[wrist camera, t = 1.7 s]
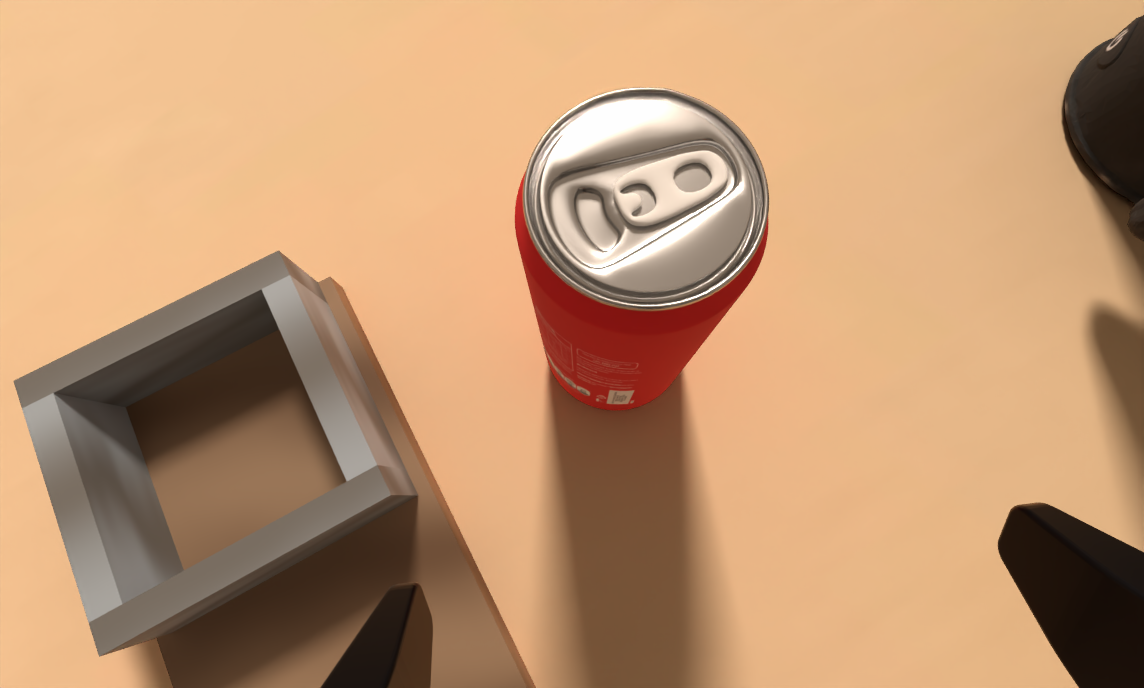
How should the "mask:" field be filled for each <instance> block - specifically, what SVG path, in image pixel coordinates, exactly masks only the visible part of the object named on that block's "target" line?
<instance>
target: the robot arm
mask: <svg viewBox="0 0 1144 688" xmlns="http://www.w3.org/2000/svg"><path fill="white" fill-rule="evenodd" d="M998 550H999V554H1000V557H1001V559H1002V561H1003V562H1004V564H1005V566H1006V568H1007V569H1008V571H1009V573H1010V575H1011V576H1012V578H1013V580H1014V582H1015V583H1016V585H1017V587H1018V589H1019V590H1020V592H1021V594H1022V596H1023V597H1024V599H1025V601H1026V603H1027V604H1028V606H1029V608H1030V610H1031V611H1032V613H1033V615H1034V617H1035V618H1036V620H1037V622H1038V624H1039V625H1040V627H1041V629H1042V631H1043V632H1044V634H1045V636H1046V638H1047V639H1048V641H1049V643H1050V644H1051V646H1052V648H1053V649H1054V651H1055V653H1056V654H1057V656H1058V657H1059V659H1060V660H1061V662H1062V663H1063V665H1064V666H1065V668H1066V669H1067V671H1068V672H1069V674H1070V675H1071V677H1072V678H1073V680H1074V681H1075V683H1076V684H1077V685H1078V687H1079V688H1144V552H1142V551H1140V550H1138V549H1136V548H1134V547H1132V546H1130V545H1128V544H1126V543H1124V542H1122V541H1120V540H1118V539H1116V538H1114V537H1112V536H1110V535H1108V534H1106V533H1104V532H1102V531H1100V530H1098V529H1096V528H1094V527H1092V526H1090V525H1088V524H1086V523H1084V522H1082V521H1080V520H1078V519H1077V518H1075V517H1073V516H1071V515H1069V514H1067V513H1065V512H1063V511H1061V510H1059V509H1057V508H1055V507H1053V506H1050V505H1048V504H1045V503H1030V504H1022V505H1017V506H1014V507H1013V508H1012V509H1011V510H1010V512H1009V514H1008V517H1007V519H1006V522H1005V525H1004V527H1003V530H1002V532H1001V535H1000V537H999V540H998ZM432 644H433V620H432V615H431V612H430V609H429V606H428V603H427V601H426V598H425V595H424V592H423V589H422V587H421V585H420V584H419V583H417V582H410V583H402V584H396V585H393V586H391V587H390V588H389V589H388V590H387V592H386V593H385V595H384V596H383V597H382V599H381V600H380V602H379V603H378V605H377V606H376V608H375V609H374V610H373V612H372V613H371V615H370V616H369V618H368V619H367V621H366V622H365V624H364V625H363V626H362V628H361V629H360V631H359V632H358V634H357V635H356V637H355V638H354V639H353V641H352V642H351V644H350V645H349V647H348V648H347V650H346V651H345V652H344V654H343V655H342V657H341V658H340V660H339V661H338V663H337V664H336V666H335V667H334V668H333V670H332V671H331V673H330V674H329V676H328V677H327V679H326V680H325V681H324V683H323V684H322V686H321V687H320V688H430V686H431V665H432Z"/></svg>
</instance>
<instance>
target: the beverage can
mask: <svg viewBox="0 0 1144 688" xmlns="http://www.w3.org/2000/svg"><path fill="white" fill-rule="evenodd" d="M768 212H769V191H768V184H767V179H766V175H765V172H764V169H763V166H762V163H761V161H760V158H759V156H758V154H757V152H756V150H755V149H754V147H753V145H752V144H751V142H750V141H749V140H748V138H747V137H746V136H745V134H744V133H743V132H742V131H741V130H740V129H739V127H738V126H737V125H736V124H734V123H733V122H732V121H731V120H730V119H729V118H728V117H727V116H725V115H724V114H723V113H721V112H720V111H718V110H717V109H715V108H714V107H712V106H710V105H709V104H707V103H705V102H703V101H701V100H699V99H696V98H694V97H691V96H689V95H686V94H683V93H680V92H677V91H674V90H671V89H666V88H628V89H621V90H616V91H612V92H608V93H604V94H601V95H598V96H595V97H593V98H591V99H588V100H586V101H584V102H582V103H580V104H579V105H577V106H575V107H574V108H572V109H571V110H569V111H568V112H566V113H565V114H564V115H563V116H561V117H560V118H559V119H558V120H557V121H556V122H555V123H554V124H553V125H552V126H551V127H550V128H549V129H548V130H547V131H546V133H545V134H544V135H543V137H542V138H541V139H540V141H539V143H538V144H537V146H536V148H535V149H534V151H533V153H532V156H531V158H530V160H529V163H528V166H527V169H526V172H525V174H524V176H523V178H522V181H521V184H520V187H519V190H518V195H517V199H516V207H515V229H516V237H517V242H518V246H519V250H520V254H521V258H522V262H523V266H524V270H525V274H526V278H527V282H528V286H529V290H530V294H531V298H532V302H533V306H534V310H535V314H536V318H537V322H538V325H539V329H540V333H541V337H542V341H543V345H544V349H545V353H546V357H547V360H548V364H549V366H550V369H551V371H552V373H553V375H554V376H555V378H556V379H557V381H558V382H559V383H560V385H561V386H562V387H563V388H564V389H565V390H566V391H567V392H568V393H569V394H571V395H572V396H573V397H575V398H576V399H578V400H579V401H581V402H583V403H585V404H587V405H590V406H593V407H596V408H600V409H605V410H627V409H632V408H636V407H639V406H642V405H644V404H646V403H648V402H650V401H652V400H654V399H655V398H657V397H658V396H659V395H661V394H662V393H663V392H664V391H665V390H666V389H667V388H668V387H669V386H670V385H671V383H672V382H673V381H674V380H675V378H676V377H677V376H678V374H679V373H680V372H681V371H682V369H683V368H684V367H685V366H686V364H687V363H688V362H689V360H690V359H691V358H692V357H693V355H694V354H695V353H696V351H697V350H698V349H699V348H700V346H701V345H702V344H703V342H704V341H705V340H706V339H707V337H708V336H709V335H710V333H711V332H712V331H713V330H714V328H715V327H716V326H717V324H718V323H719V322H720V321H721V319H722V318H723V317H724V316H725V314H726V313H727V312H728V310H729V309H730V308H731V307H732V305H733V304H734V303H735V301H736V300H737V299H738V298H739V296H740V295H741V294H742V292H743V291H744V290H745V288H746V287H747V286H748V284H749V283H750V281H751V280H752V278H753V276H754V275H755V273H756V271H757V269H758V267H759V265H760V262H761V260H762V257H763V254H764V250H765V247H766V242H767V235H768Z"/></svg>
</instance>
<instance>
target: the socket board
mask: <svg viewBox="0 0 1144 688" xmlns="http://www.w3.org/2000/svg"><path fill="white" fill-rule="evenodd" d="M14 384H15V387H16V390H17V394H18V397H19V400H20V403H21V407H22V410H23V413H24V416H25V419H26V423H27V426H28V429H29V432H30V436H31V439H32V442H33V445H34V448H35V452H36V455H37V458H38V461H39V464H40V468H41V471H42V474H43V477H44V481H45V484H46V487H47V490H48V493H49V497H50V500H51V503H52V506H53V509H54V513H55V516H56V519H57V522H58V526H59V529H60V532H61V535H62V538H63V542H64V545H65V548H66V551H67V555H68V558H69V561H70V564H71V567H72V571H73V574H74V577H75V580H76V583H77V587H78V590H79V593H80V596H81V600H82V603H83V606H84V609H85V612H86V616H87V619H88V622H89V625H90V629H91V632H92V635H93V638H94V641H95V645H96V648H97V651H98V654H99V657H100V656H103V655H106V654H109V653H112V652H115V651H118V650H121V649H124V648H127V647H130V646H133V645H136V644H139V643H142V642H145V641H148V640H152V639H155V638H157V641H158V644H159V647H160V650H161V653H162V655H163V658H164V661H165V664H166V667H167V670H168V673H169V676H170V679H171V682H172V685H173V688H320V687H321V686H322V684H323V683H324V681H325V680H326V679H327V677H328V676H329V674H330V673H331V671H332V670H333V668H334V667H335V666H336V664H337V663H338V661H339V660H340V658H341V657H342V655H343V654H344V652H345V651H346V650H347V648H348V647H349V645H350V644H351V642H352V641H353V639H354V638H355V637H356V635H357V634H358V632H359V631H360V629H361V628H362V626H363V625H364V624H365V622H366V621H367V619H368V618H369V616H370V615H371V613H372V612H373V610H374V609H375V608H376V606H377V605H378V603H379V602H380V600H381V599H382V597H383V596H384V595H385V593H386V592H387V590H388V589H389V588H390V587H391V586H393V585H396V584H402V583H410V582H417V583H419V584H420V585H421V587H422V589H423V592H424V595H425V598H426V601H427V603H428V606H429V609H430V612H431V615H432V620H433V644H432V665H431V686H430V688H536V687H535V685H534V683H533V681H532V679H531V677H530V675H529V673H528V671H527V669H526V666H525V664H524V662H523V660H522V658H521V656H520V654H519V652H518V650H517V648H516V646H515V644H514V642H513V640H512V638H511V635H510V633H509V631H508V629H507V627H506V625H505V623H504V621H503V619H502V617H501V615H500V613H499V611H498V609H497V606H496V604H495V602H494V600H493V598H492V596H491V594H490V592H489V590H488V588H487V586H486V584H485V582H484V580H483V577H482V575H481V573H480V571H479V569H478V567H477V565H476V563H475V561H474V559H473V557H472V555H471V553H470V551H469V548H468V546H467V544H466V542H465V540H464V538H463V536H462V534H461V532H460V530H459V528H458V526H457V524H456V522H455V520H454V517H453V515H452V513H451V511H450V509H449V507H448V505H447V503H446V501H445V499H444V497H443V495H442V493H441V491H440V488H439V486H438V484H437V482H436V480H435V478H434V476H433V474H432V472H431V470H430V468H429V466H428V464H427V462H426V459H425V457H424V455H423V453H422V451H421V449H420V447H419V445H418V443H417V441H416V439H415V437H414V435H413V433H412V430H411V428H410V426H409V424H408V422H407V420H406V418H405V416H404V414H403V412H402V410H401V408H400V406H399V404H398V401H397V399H396V397H395V395H394V393H393V391H392V389H391V387H390V385H389V383H388V381H387V379H386V377H385V375H384V373H383V370H382V368H381V366H380V364H379V362H378V360H377V358H376V356H375V354H374V352H373V350H372V348H371V346H370V344H369V341H368V339H367V337H366V335H365V333H364V331H363V329H362V327H361V325H360V323H359V321H358V319H357V317H356V315H355V312H354V310H353V308H352V306H351V304H350V302H349V300H348V298H347V296H346V294H345V292H344V290H343V288H342V287H341V286H340V285H339V284H338V283H337V282H336V281H334V280H333V279H332V278H331V277H328V278H326V279H324V280H322V281H320V282H317V281H315V280H314V279H313V278H312V277H310V276H309V275H308V274H307V273H305V272H304V271H303V270H302V269H301V268H299V267H298V266H297V265H296V264H294V263H293V262H292V261H291V260H290V259H288V258H287V257H286V256H285V255H283V254H282V253H281V252H280V251H277V252H275V253H272V254H270V255H268V256H266V257H264V258H262V259H260V260H258V261H256V262H254V263H252V264H250V265H248V266H246V267H244V268H242V269H240V270H238V271H236V272H234V273H232V274H230V275H228V276H226V277H224V278H222V279H220V280H218V281H216V282H214V283H212V284H210V285H207V286H205V287H203V288H201V289H199V290H197V291H195V292H193V293H191V294H189V295H187V296H185V297H183V298H181V299H179V300H177V301H175V302H173V303H171V304H169V305H167V306H165V307H163V308H161V309H159V310H157V311H155V312H153V313H151V314H149V315H147V316H145V317H142V318H140V319H138V320H136V321H134V322H132V323H130V324H128V325H126V326H124V327H122V328H120V329H118V330H116V331H114V332H112V333H110V334H108V335H106V336H104V337H102V338H100V339H98V340H96V341H94V342H92V343H90V344H88V345H86V346H84V347H82V348H80V349H77V350H75V351H73V352H71V353H69V354H67V355H65V356H63V357H61V358H59V359H57V360H55V361H53V362H51V363H49V364H47V365H45V366H43V367H41V368H39V369H37V370H35V371H33V372H31V373H29V374H27V375H25V376H23V377H21V378H19V379H17V380H15V381H14Z"/></svg>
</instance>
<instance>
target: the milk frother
mask: <svg viewBox="0 0 1144 688" xmlns="http://www.w3.org/2000/svg"><path fill="white" fill-rule="evenodd" d="M1065 115H1066V121H1067V124H1068V130H1069V132H1070V135H1071V138H1072V140H1073V142H1074V144H1075V146H1076V148H1077V149H1078V151H1079V153H1080V154H1081V156H1082V157H1083V159H1084V160H1085V162H1086V163H1087V164H1088V165H1089V167H1090V168H1091V169H1092V170H1093V171H1094V172H1095V173H1096V174H1097V175H1098V176H1099V178H1101V179H1102V180H1103V181H1104V182H1105V183H1106V184H1107V185H1108V186H1109V187H1110V188H1111V189H1113V190H1114V191H1115V192H1117V193H1119V194H1121V195H1122V196H1124V197H1127V198H1128V199H1129V200H1130V201H1132V202H1134V204H1135V206H1134V207H1133V208H1132V209H1131V211H1130V213H1129V215H1130V219H1129V221H1128V224H1127V225H1128V227H1129V229H1130V231H1131V232H1132V233H1133V235H1134V236H1136V237H1137V238H1139V239H1140V240H1142V241H1144V15H1143V16H1141V17H1138V18H1136V19H1135V20H1134V21H1133V22H1132V23H1130V24H1129V25H1128V26H1127V27H1126V28H1124V29H1123V30H1122V31H1121V32H1120V33H1119V34H1118V35H1117V36H1116V37H1114V38H1112V39H1110V40H1108V41H1105V42H1103V43H1102V44H1100V45H1098V46H1097V47H1095V48H1094V49H1093V50H1092V51H1091V52H1090V53H1088V54H1087V55H1086V56H1085V57H1084V58H1083V59H1082V60H1081V61H1080V63H1079V64H1078V65H1077V67H1076V69H1075V70H1074V72H1073V74H1072V75H1071V78H1070V80H1069V83H1068V86H1067V89H1066V96H1065Z"/></svg>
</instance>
